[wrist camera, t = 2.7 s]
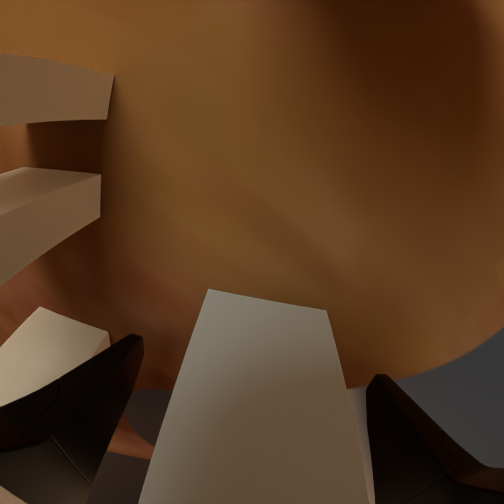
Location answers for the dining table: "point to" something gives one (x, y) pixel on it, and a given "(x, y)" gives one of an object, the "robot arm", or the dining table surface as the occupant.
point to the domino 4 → (258, 412)
